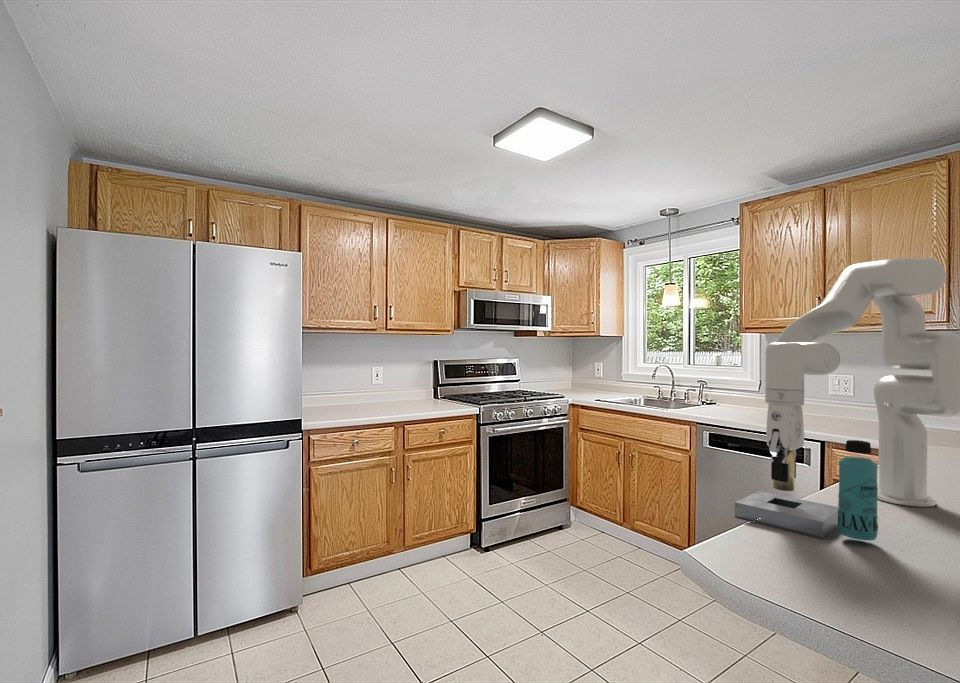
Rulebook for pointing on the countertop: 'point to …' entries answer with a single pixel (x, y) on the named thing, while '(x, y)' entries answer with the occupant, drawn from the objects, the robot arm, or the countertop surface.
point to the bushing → (791, 469)
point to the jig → (788, 514)
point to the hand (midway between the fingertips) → (783, 478)
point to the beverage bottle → (857, 493)
